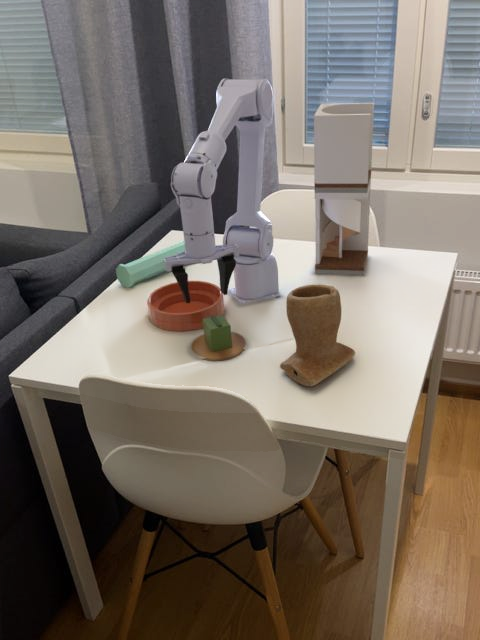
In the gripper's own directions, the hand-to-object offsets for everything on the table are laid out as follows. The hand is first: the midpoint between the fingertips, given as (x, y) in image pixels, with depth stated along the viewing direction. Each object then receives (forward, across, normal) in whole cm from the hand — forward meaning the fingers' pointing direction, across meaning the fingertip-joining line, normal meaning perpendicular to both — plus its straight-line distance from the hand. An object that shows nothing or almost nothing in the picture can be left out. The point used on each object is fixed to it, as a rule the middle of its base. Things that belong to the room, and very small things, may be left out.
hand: (205, 297), depth 137 cm
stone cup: (+10, +14, -19) cm, 26 cm away
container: (+10, +1, +38) cm, 39 cm away
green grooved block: (+9, 0, -4) cm, 10 cm away
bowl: (+9, -1, +12) cm, 15 cm away
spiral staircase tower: (+10, +40, +20) cm, 45 cm away
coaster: (+9, 0, -4) cm, 10 cm away
